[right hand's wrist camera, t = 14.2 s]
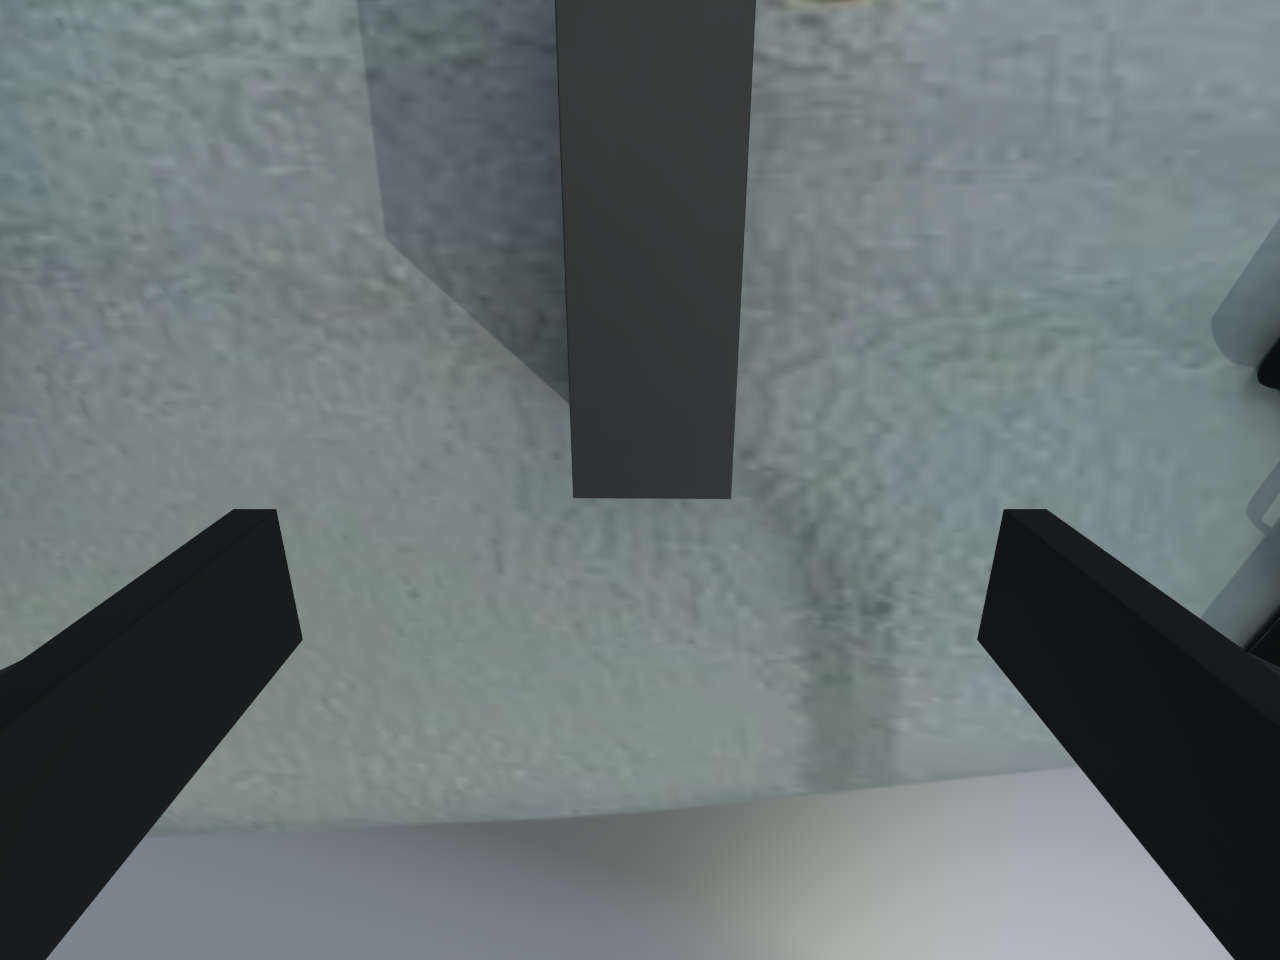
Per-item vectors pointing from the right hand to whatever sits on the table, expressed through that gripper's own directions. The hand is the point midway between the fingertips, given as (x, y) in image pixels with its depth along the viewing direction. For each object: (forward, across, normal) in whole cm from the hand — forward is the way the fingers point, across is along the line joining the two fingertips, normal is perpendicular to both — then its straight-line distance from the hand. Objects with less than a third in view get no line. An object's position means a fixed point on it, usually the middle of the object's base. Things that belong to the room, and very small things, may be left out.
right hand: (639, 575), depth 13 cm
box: (+22, -1, -7) cm, 22 cm away
